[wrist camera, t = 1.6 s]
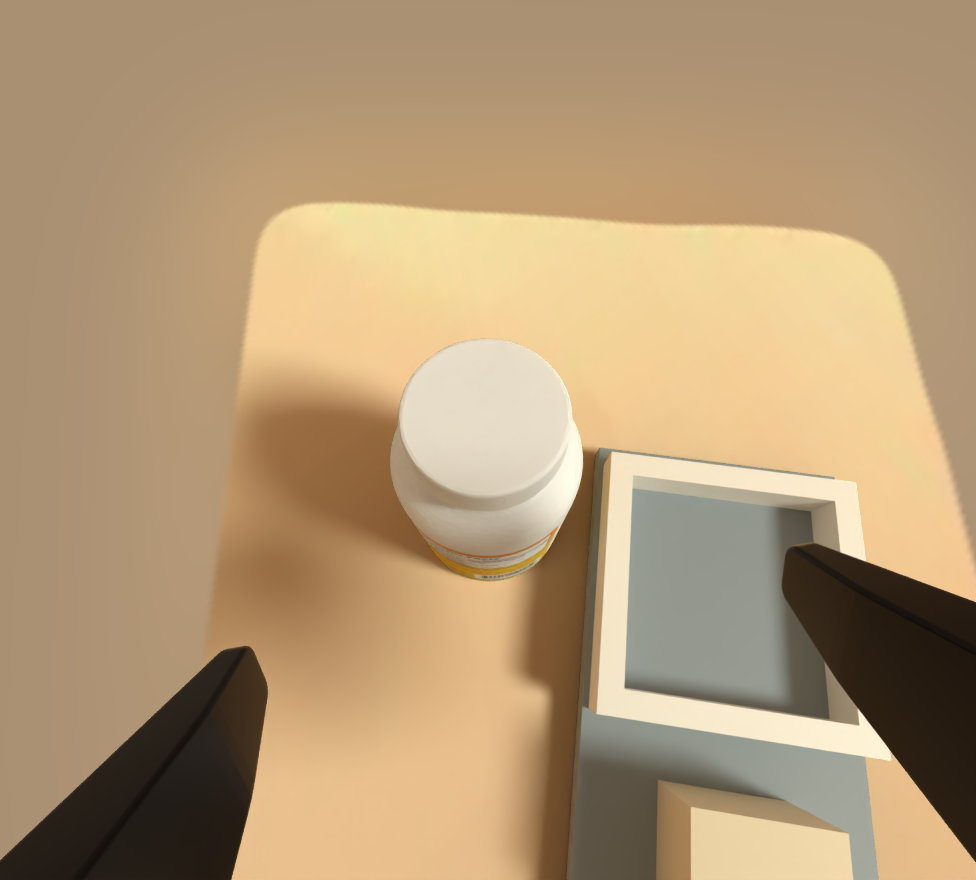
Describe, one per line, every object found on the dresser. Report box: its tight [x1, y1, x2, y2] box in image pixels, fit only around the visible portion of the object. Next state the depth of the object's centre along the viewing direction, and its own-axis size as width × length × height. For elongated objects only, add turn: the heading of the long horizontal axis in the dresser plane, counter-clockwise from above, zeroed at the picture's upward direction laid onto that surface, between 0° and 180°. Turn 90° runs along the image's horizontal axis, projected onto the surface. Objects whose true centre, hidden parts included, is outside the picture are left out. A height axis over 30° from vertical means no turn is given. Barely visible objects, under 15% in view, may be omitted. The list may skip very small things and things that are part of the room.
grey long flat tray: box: [566, 448, 891, 880], centre depth 15 cm, size 22×9×4 cm, turn 172°
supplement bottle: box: [390, 339, 583, 581], centre depth 16 cm, size 5×5×10 cm
